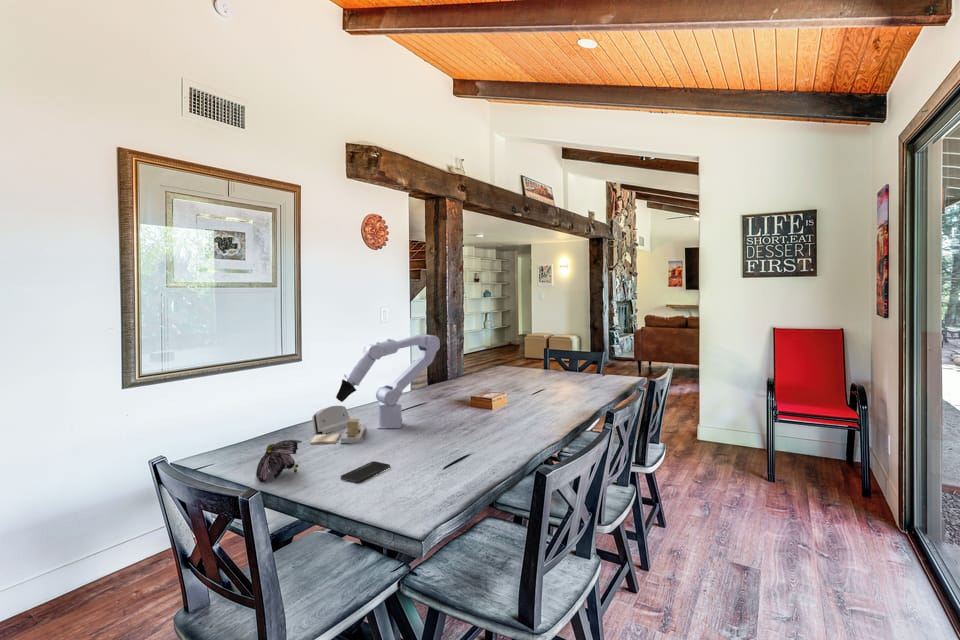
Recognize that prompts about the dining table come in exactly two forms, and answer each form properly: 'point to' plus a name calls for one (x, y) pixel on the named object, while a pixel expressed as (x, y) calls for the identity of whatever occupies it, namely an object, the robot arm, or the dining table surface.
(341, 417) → the grey rounded upright block
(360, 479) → the phone
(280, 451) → the decorative flower
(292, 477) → the dining table surface
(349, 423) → the brass peg
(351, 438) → the grey peg hole board
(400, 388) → the robot arm
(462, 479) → the dining table surface
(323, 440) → the birch pad
